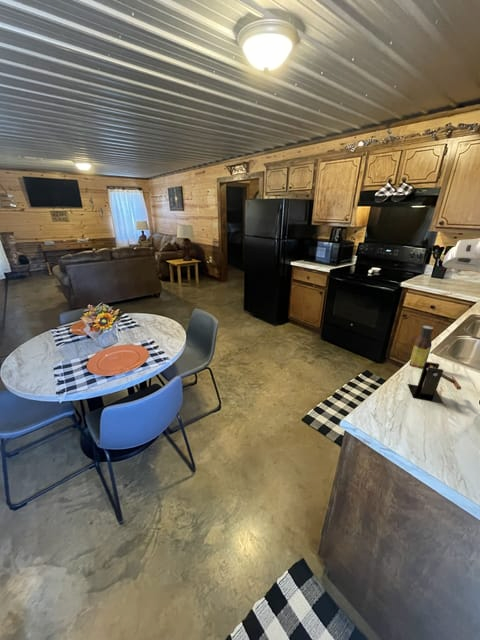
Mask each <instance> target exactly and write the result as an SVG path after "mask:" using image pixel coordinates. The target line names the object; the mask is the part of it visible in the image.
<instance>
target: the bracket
mask: <svg viewBox="0 0 480 640" xmlns="http://www.w3.org/2000/svg"><path fill="white" fill-rule="evenodd" d="M430 365H433V366H434V367H436V368H430V367H429V366H430ZM428 367H429V368H428ZM439 367H440V363H439V362H438V363H437V362H430V361H427V362H425V364H424V367H423V368H422V370H421V373H420V375H419V380H418V382H417V385H416V384H411V383H407V387H408V389H409V392H410V394H411V398H412V399H417V400H420V401H426V402H432V403H438V404H443V405H444V401H443V399H442V397H441V396H440V395H439V393H438V390H437V389H438V387H439V384H440V381H441V379H442V377H441V376H442V374H444V370H443V368H439ZM426 368H428V371H427V369H426ZM437 368H438V369H437Z"/></svg>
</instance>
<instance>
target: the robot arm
mask: <svg viewBox="0 0 480 640" xmlns="http://www.w3.org/2000/svg"><path fill="white" fill-rule="evenodd" d="M442 268H446V269H452V270H454V272H453V274H456V275H457V274H459V275H461V272H462V271H468V272H478V273H480V237H478V238H471V239H460V240H458V241H457V242H456V245H455V246H453V247H451V248H450V249H449V250H448V251H447V252H446V254H445V255H444V258H443V260H442Z"/></svg>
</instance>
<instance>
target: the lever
mask: <svg viewBox="0 0 480 640" xmlns="http://www.w3.org/2000/svg"><path fill="white" fill-rule="evenodd" d="M429 367H430V368H436V367H434V366H433V365H430V366H429ZM429 367H428V368H429ZM428 368H426V369H427V371H428ZM437 369H439V368H437ZM441 378H443V379H444V380H446V381H448V382H450V383H451V384H453V386H454V387H455V389H456V390H457V391H460V390H462V387H461V385H460V384H459V383H458V381H457V379H456V378H455V377H454V375H449V376H447V375H446V374H444V373H442V376H441Z"/></svg>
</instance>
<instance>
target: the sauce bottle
mask: <svg viewBox="0 0 480 640" xmlns="http://www.w3.org/2000/svg"><path fill="white" fill-rule="evenodd" d="M433 331H434V327H432V326H430V325H422V327H421V332H420V335H419V336H418V337H416V339H415V343H414V344H413V348H412V352H411V356H410V359H409V366H410V367H412V368H418V369H423V367H424V364H425V362H428V359H429V357H430V356H429V355H430V353H431V350H432V345H433V344H432V334H433ZM410 360H411V361H410Z"/></svg>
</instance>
